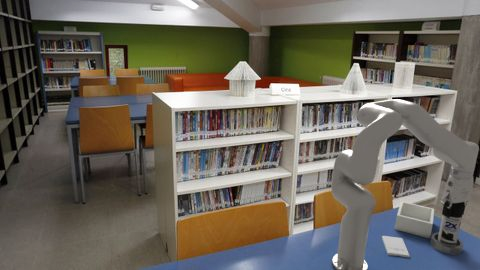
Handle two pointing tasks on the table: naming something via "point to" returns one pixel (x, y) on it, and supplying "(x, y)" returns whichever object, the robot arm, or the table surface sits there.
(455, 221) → the spray can
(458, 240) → the collar
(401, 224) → the bin
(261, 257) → the table surface
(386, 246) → the external hard drive
